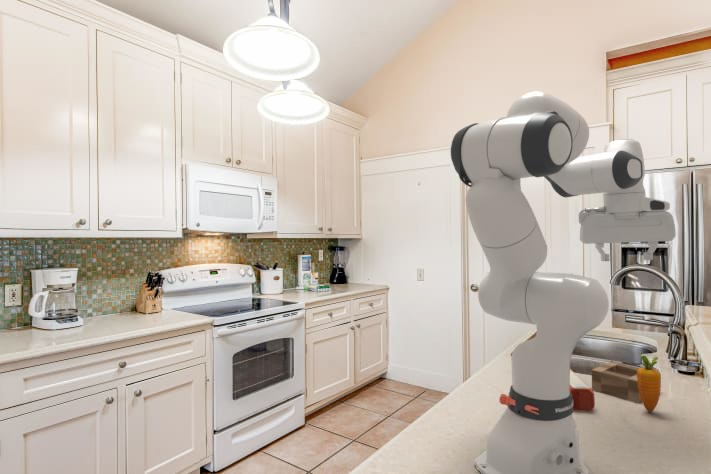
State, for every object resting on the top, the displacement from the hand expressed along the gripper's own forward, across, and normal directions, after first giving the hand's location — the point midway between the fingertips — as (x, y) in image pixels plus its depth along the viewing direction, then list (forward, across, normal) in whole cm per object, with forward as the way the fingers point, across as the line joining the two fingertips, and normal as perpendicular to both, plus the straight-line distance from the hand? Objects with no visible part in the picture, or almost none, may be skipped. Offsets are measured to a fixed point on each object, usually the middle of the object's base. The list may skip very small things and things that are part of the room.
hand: (626, 260), depth 101 cm
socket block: (+40, +3, +16) cm, 43 cm away
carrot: (+40, +5, +2) cm, 40 cm away
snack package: (+40, -12, +10) cm, 43 cm away
